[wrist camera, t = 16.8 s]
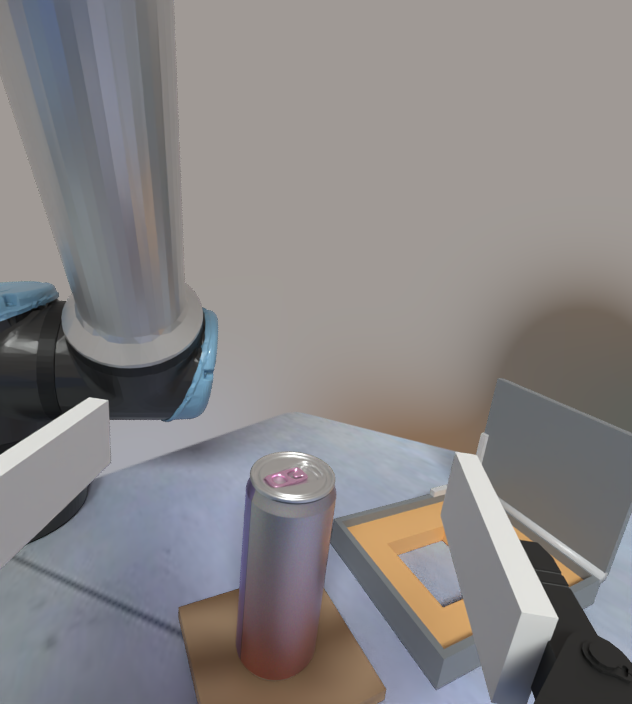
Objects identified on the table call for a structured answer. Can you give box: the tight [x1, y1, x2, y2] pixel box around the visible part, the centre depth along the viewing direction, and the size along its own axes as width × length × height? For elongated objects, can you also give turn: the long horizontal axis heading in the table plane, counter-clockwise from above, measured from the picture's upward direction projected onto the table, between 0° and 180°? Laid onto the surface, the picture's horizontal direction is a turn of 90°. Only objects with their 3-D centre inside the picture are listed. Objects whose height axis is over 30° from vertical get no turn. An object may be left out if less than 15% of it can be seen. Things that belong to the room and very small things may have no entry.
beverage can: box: [236, 452, 336, 681], centre depth 30 cm, size 6×6×15 cm
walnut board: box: [178, 588, 386, 704], centre depth 32 cm, size 12×12×1 cm
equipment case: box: [331, 378, 632, 690], centre depth 40 cm, size 16×21×17 cm
